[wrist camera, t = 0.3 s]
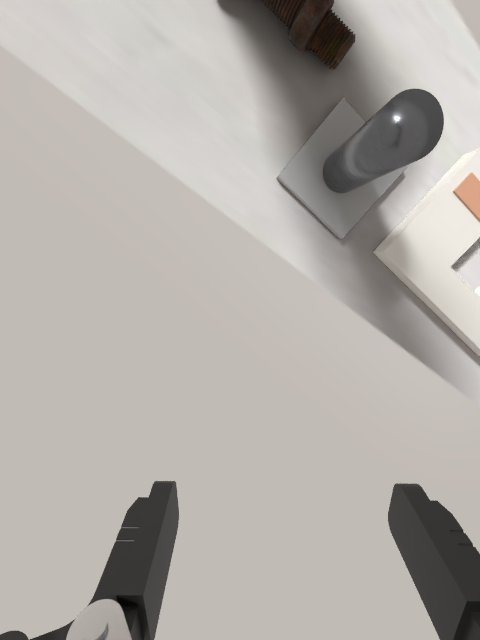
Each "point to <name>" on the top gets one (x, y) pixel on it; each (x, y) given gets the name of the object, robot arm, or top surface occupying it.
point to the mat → (308, 174)
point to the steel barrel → (386, 141)
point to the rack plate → (441, 248)
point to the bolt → (314, 27)
